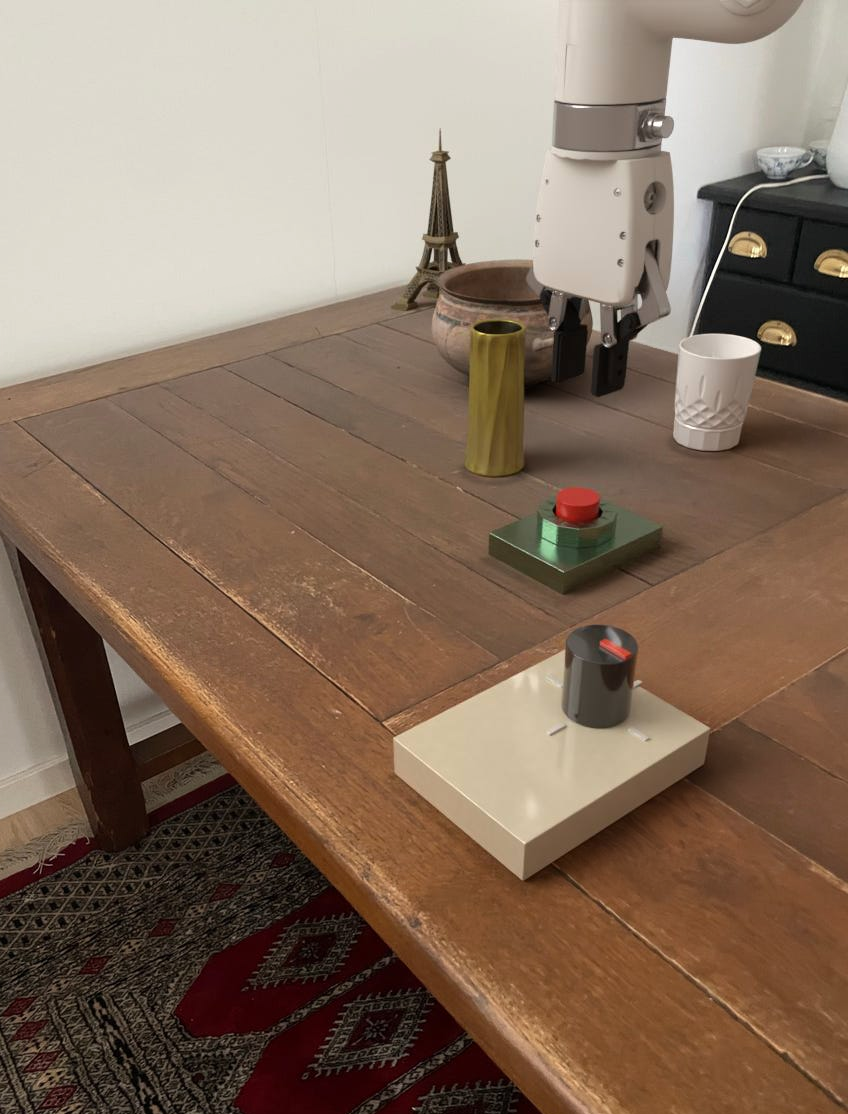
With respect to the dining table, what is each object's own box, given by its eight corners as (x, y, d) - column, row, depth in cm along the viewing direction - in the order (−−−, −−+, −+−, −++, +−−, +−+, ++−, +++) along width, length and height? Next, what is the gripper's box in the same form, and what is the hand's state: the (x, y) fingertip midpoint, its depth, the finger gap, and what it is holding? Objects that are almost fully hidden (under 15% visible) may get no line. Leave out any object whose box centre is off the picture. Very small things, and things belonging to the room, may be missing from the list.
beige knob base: (571, 678, 74) (574, 642, 72) (707, 762, 66) (714, 724, 64) (393, 773, 66) (392, 735, 65) (522, 881, 58) (525, 842, 56)
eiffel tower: (489, 300, 154) (494, 115, 140) (449, 318, 147) (449, 126, 133) (432, 290, 160) (431, 112, 146) (391, 308, 153) (385, 122, 139)
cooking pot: (400, 361, 133) (398, 264, 126) (532, 340, 137) (536, 245, 131) (481, 429, 113) (483, 318, 106) (631, 402, 118) (643, 294, 111)
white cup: (655, 444, 108) (667, 351, 102) (683, 419, 113) (695, 329, 107) (730, 460, 104) (746, 363, 98) (755, 433, 109) (771, 340, 103)
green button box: (584, 513, 95) (587, 473, 93) (660, 548, 89) (665, 507, 87) (488, 554, 90) (489, 513, 87) (562, 595, 84) (565, 552, 81)
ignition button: (576, 501, 90) (577, 483, 89) (607, 515, 87) (609, 497, 86) (546, 514, 88) (547, 495, 87) (577, 528, 85) (579, 510, 84)
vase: (500, 483, 101) (505, 340, 94) (452, 467, 105) (452, 328, 97) (535, 462, 105) (543, 323, 97) (488, 448, 109) (491, 313, 101)
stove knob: (546, 704, 67) (551, 636, 64) (594, 679, 69) (601, 612, 66) (596, 737, 64) (603, 668, 61) (644, 710, 66) (654, 642, 63)
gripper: (742, 132, 67) (703, 401, 77) (559, 113, 78) (546, 350, 89) (666, 148, 63) (635, 427, 74) (486, 125, 75) (481, 370, 85)
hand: (587, 382), depth 81 cm, fingers open, 3 cm apart
